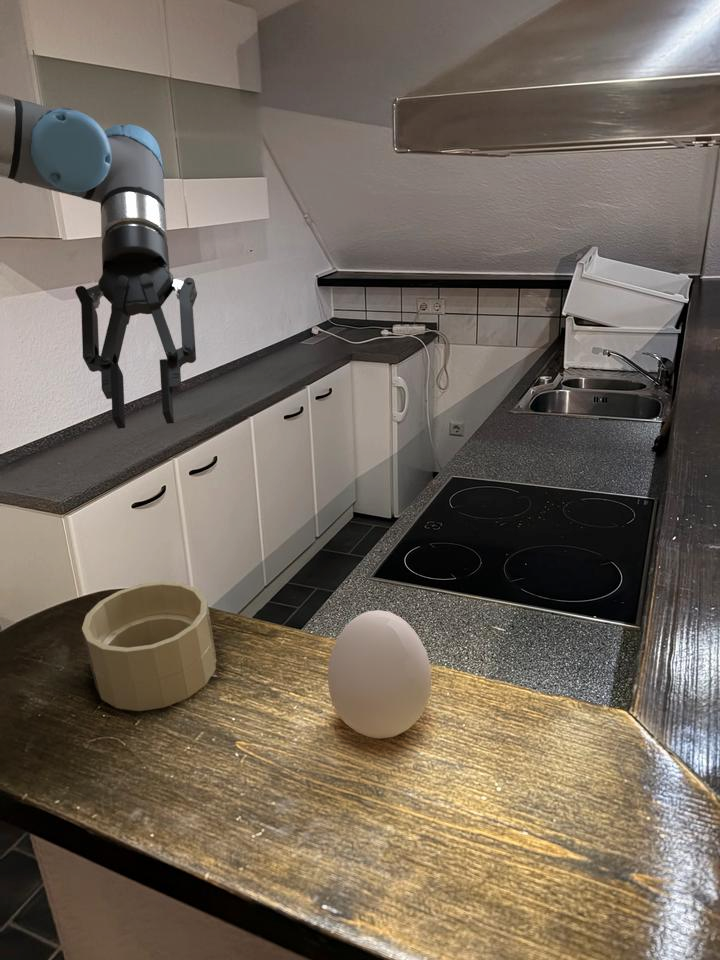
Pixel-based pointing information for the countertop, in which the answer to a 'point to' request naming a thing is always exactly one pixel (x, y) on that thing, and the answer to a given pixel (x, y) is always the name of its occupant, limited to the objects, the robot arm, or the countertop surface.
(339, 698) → the egg
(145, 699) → the ring
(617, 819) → the countertop surface
